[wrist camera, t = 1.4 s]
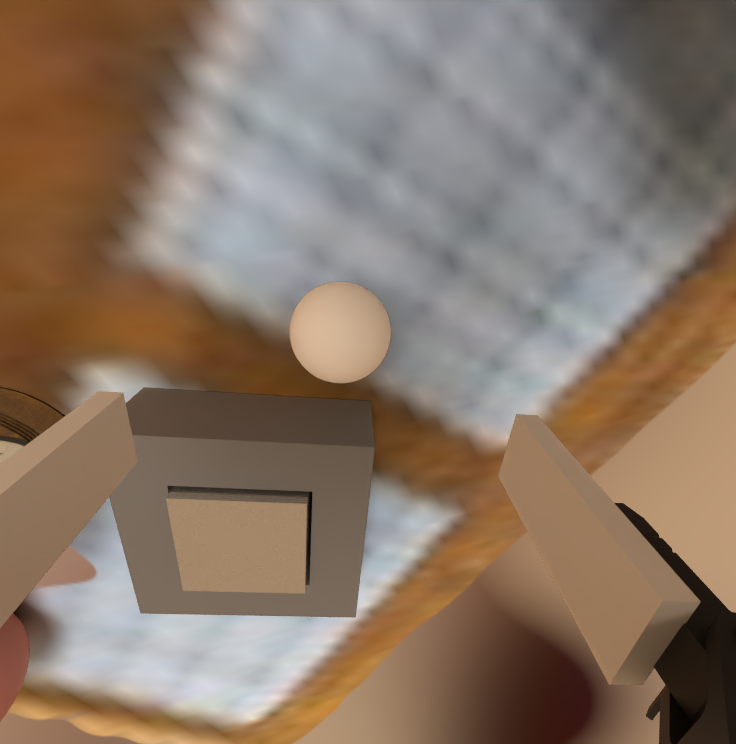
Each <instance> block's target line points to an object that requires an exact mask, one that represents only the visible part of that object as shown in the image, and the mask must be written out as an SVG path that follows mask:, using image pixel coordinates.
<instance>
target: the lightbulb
mask: <svg viewBox="0 0 736 744" xmlns="http://www.w3.org/2000/svg"><path fill="white" fill-rule="evenodd" d="M390 339H391V327H390V321H389V318H388V315H387V312H386V310H385V308H384V306H383V305H382V303H381V302H380V301H379V299H378V298H377V297H376V296H375V295H374V294H372V293H371V292H370V291H368V290H367V289H365V288H363V287H361V286H359V285H356V284H352V283H349V282H332V283H326V284H323V285H321V286H318V287H316V288H315V289H313V290H311V291H310V292H308V293H307V294H306V295H305V296H304V297H303V298H302V299H301V301H300V302H299V304H298V305H297V306H296V308H295V310H294V313H293V315H292V318H291V323H290V341H291V345H292V349H293V351H294V353H295V356H296V358H297V359H298V360H299V362H300V363H301V365H302V366H303V367H304V368H305V369H306V370H307V371H308V372H309V373H311V374H312V375H314V376H315V377H317V378H319V379H322V380H324V381H328V382H332V383H349V382H354V381H357V380H360V379H362V378H364V377H366V376H367V375H369V374H370V373H371V372H373V371H374V370H375V369H376V368H377V367H378V366H379V365H380V363H381V362H382V361H383V359H384V357H385V355H386V354H387V351H388V347H389V344H390Z"/></svg>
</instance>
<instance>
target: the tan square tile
mask: <svg viewBox="0 0 736 744" xmlns="http://www.w3.org/2000/svg"><path fill="white" fill-rule="evenodd" d="M310 501H311V492H308V491H284V490H260V489H236V488H212V487H187V486H173V488H172V489H171V491H170V493H169V494H168V496H167V497H166V502H167V508H168V513H169V518H170V524H171V529H172V534H173V540H174V545H175V551H176V556H177V561H178V567H179V572H180V577H181V583H182V588H183V591H213V592H256V593H300V594H305V589H306V581H307V573H308V565H309V537H310Z"/></svg>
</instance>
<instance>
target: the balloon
mask: <svg viewBox="0 0 736 744" xmlns="http://www.w3.org/2000/svg"><path fill="white" fill-rule="evenodd" d="M29 655H30V648H29V639H28V636H27V632H26V630H25V628H24V626H23V624H22V623H21V621H20V620H19V619H18V618H17V617H16V616H15V615H14V614H13V613H12V615H11V616H10V617H9V618H8V620H7V621H6V622H5V623H4V624H3V626H2V627H1V628H0V721H1V720H2V719H3V717H4V716H5V715H6V713H7V712H8V710H9V709H10V707H11V706H12V704H13V702H14V700H15V699H16V697H17V695H18V693H19V691H20V689H21V686H22V684H23V681H24V679H25V676H26V672H27V668H28V663H29Z"/></svg>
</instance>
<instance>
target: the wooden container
mask: <svg viewBox="0 0 736 744" xmlns="http://www.w3.org/2000/svg"><path fill="white" fill-rule="evenodd" d="M63 417H64V416H62V415H61V414H60V413H58V412H57V411H55V410H54V409H52V408H51V407H49V406H48V405H46V404H44V403H42V402H40V401H38V400H36V399H34V398H32V397H30V396H27V395H25V394H22V393H19V392H16V391H12V390H8V389H3V388H0V464H1V463H3V462H4V461H5V460H7V459H8V458H10V457H11V456H12V455H14V454H15V453H16V452H18V451H19V450H20V449H22V448H23V447H24V446H26V445H27V444H28V443H30V442H31V441H32V440H34V439H35V438H36V437H38V436H39V435H41V434H42V433H43V432H45V431H46V430H47V429H49V428H50V427H51V426H53V425H54V424H55V423H57V422H58V421H59V420H61V419H62V418H63Z"/></svg>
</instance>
